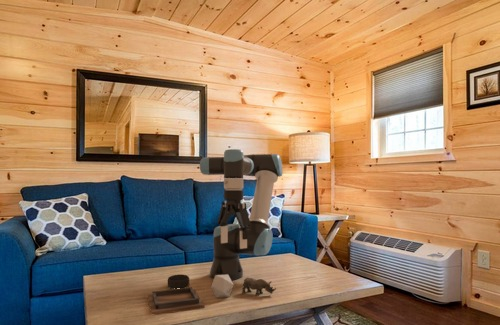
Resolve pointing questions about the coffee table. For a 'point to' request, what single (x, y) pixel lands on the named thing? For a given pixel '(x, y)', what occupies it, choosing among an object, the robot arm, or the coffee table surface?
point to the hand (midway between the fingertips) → (233, 245)
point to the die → (222, 286)
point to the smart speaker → (178, 281)
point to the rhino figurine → (257, 285)
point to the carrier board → (174, 300)
